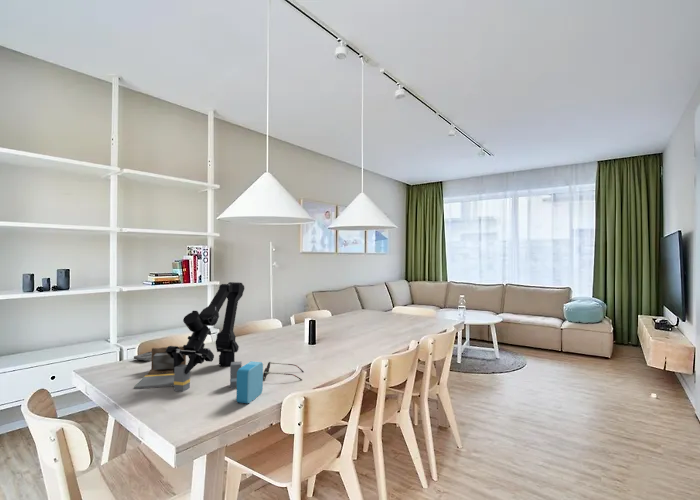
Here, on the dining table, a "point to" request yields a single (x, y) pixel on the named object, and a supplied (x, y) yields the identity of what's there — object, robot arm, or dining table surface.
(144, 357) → the graphics card
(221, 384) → the dining table surface
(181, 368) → the block
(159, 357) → the mounted unit
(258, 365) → the blue flat block
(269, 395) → the dining table surface
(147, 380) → the pad
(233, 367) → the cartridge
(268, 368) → the sunglasses
